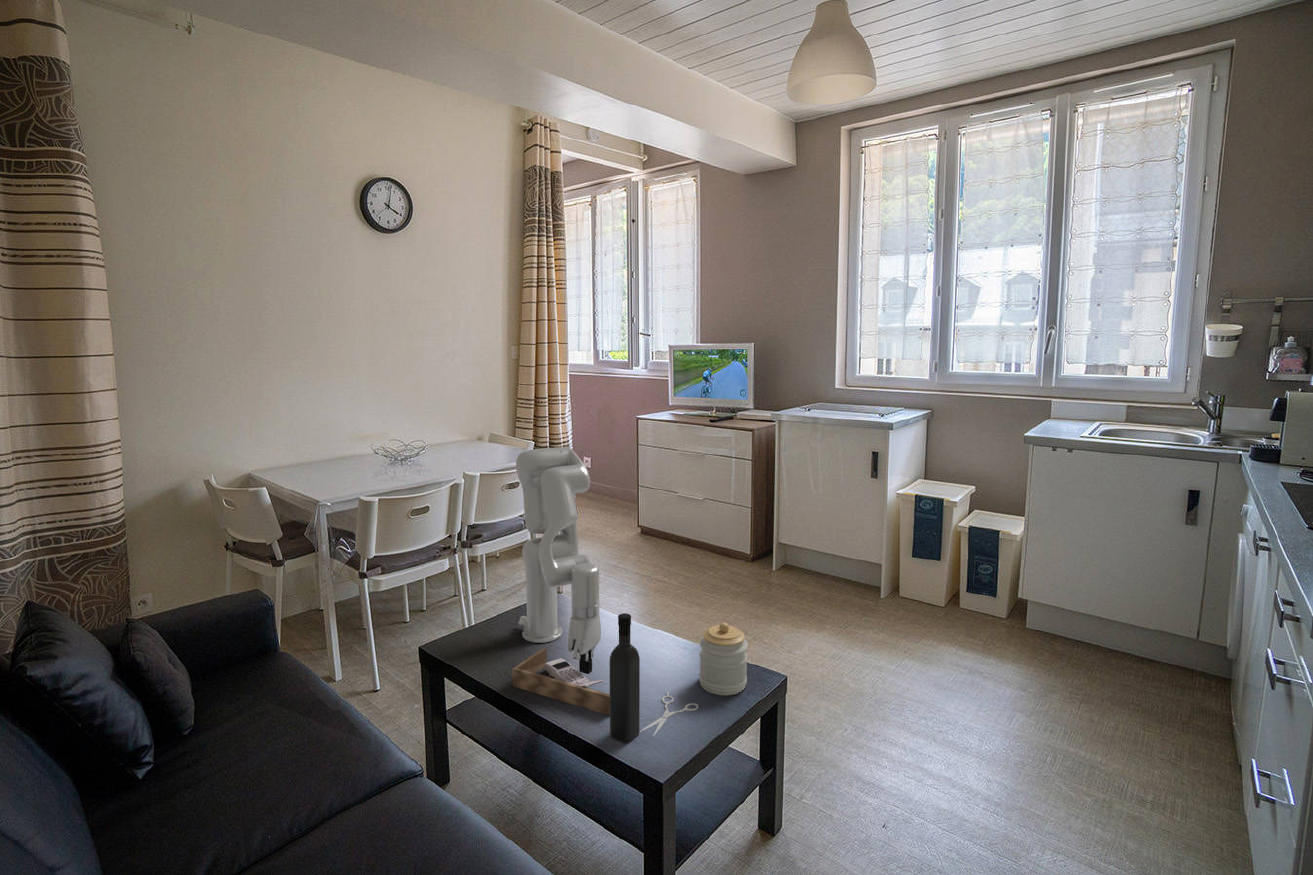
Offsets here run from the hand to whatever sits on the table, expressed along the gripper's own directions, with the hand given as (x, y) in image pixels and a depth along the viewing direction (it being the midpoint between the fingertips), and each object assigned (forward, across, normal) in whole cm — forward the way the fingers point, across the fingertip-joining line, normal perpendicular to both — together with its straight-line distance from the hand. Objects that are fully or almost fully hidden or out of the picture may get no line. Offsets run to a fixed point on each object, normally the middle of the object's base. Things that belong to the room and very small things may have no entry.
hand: (585, 671), depth 186 cm
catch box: (+2, +6, 0) cm, 6 cm away
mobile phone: (+2, +4, -2) cm, 5 cm away
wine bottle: (+2, +18, +23) cm, 29 cm away
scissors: (+2, +6, +28) cm, 29 cm away
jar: (+2, -15, +35) cm, 38 cm away
